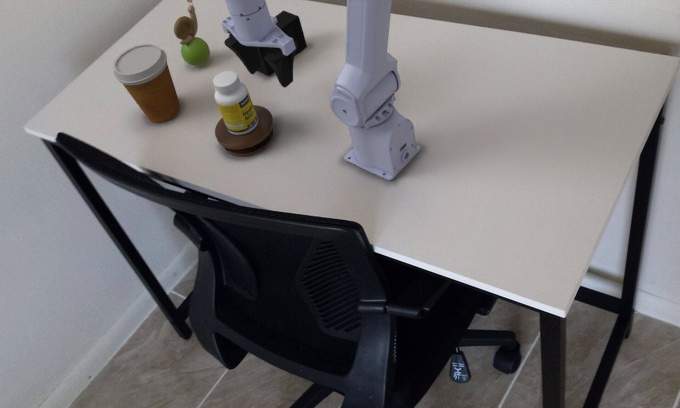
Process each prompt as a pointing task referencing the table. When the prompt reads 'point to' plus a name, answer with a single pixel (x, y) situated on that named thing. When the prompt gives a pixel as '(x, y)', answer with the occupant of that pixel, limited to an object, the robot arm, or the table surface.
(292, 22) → the digital camera
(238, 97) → the supplement bottle
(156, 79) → the disposable coffee cup
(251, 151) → the stand
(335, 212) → the table surface
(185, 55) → the snail figurine
